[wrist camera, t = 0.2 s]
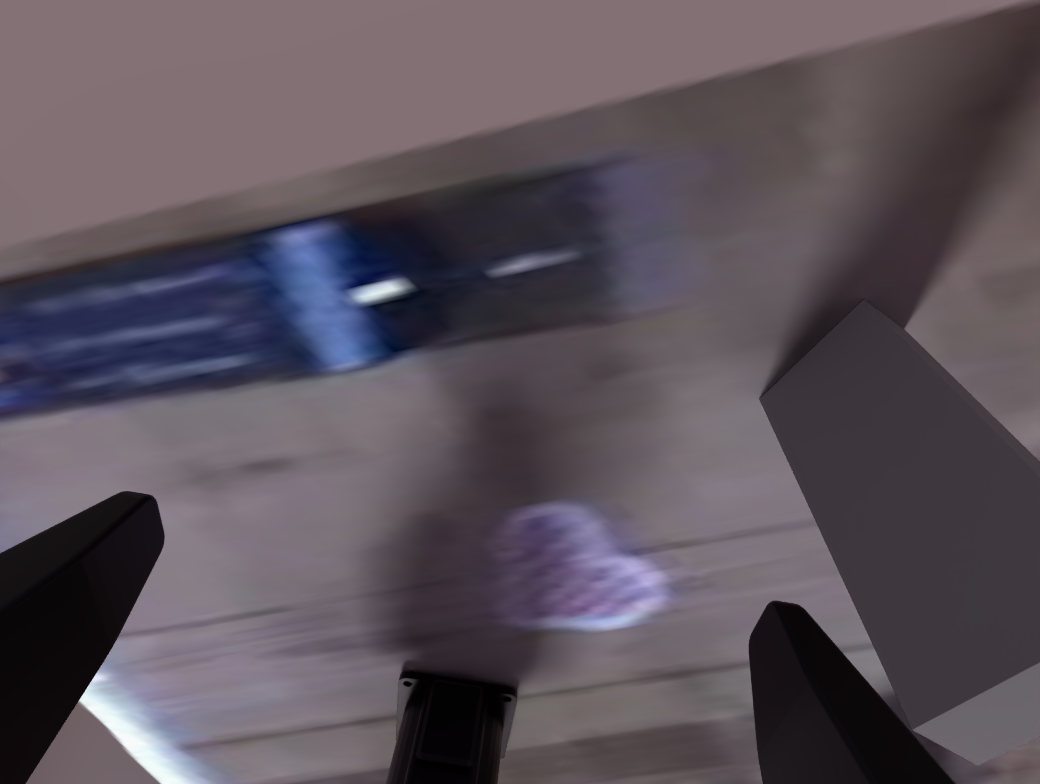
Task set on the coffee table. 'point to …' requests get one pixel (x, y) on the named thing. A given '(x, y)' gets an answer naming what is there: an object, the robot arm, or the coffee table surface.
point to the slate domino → (923, 528)
